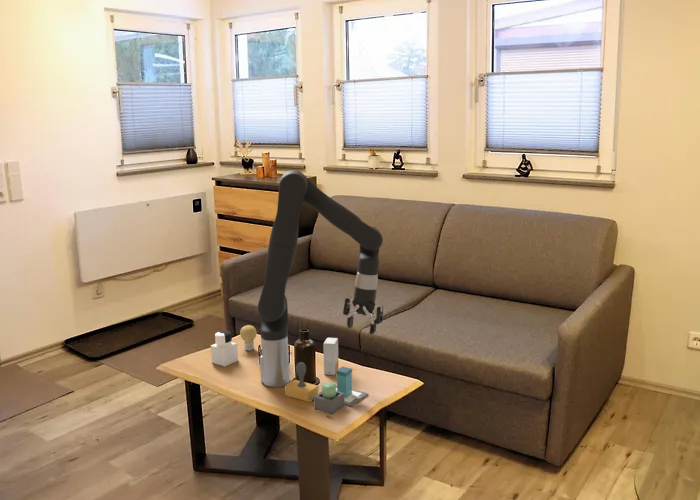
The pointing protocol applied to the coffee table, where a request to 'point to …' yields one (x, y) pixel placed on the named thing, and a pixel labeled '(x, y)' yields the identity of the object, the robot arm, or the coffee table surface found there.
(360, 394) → the clipboard
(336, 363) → the skincare box
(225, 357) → the medicine bottle
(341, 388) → the teal lidded box
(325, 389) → the button
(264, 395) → the coffee table surface
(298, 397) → the rubber stamp
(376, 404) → the coffee table surface
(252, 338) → the light bulb
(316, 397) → the button housing
